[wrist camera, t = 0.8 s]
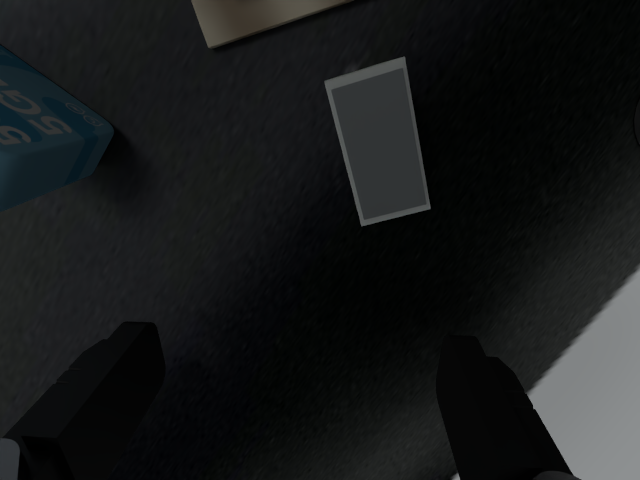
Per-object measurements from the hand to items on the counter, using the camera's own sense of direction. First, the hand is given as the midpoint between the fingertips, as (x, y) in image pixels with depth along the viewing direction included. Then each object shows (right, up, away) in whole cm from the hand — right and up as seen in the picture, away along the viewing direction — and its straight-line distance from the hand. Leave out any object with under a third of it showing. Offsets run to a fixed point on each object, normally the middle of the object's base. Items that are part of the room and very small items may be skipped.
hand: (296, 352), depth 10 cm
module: (+5, +12, +20) cm, 24 cm away
